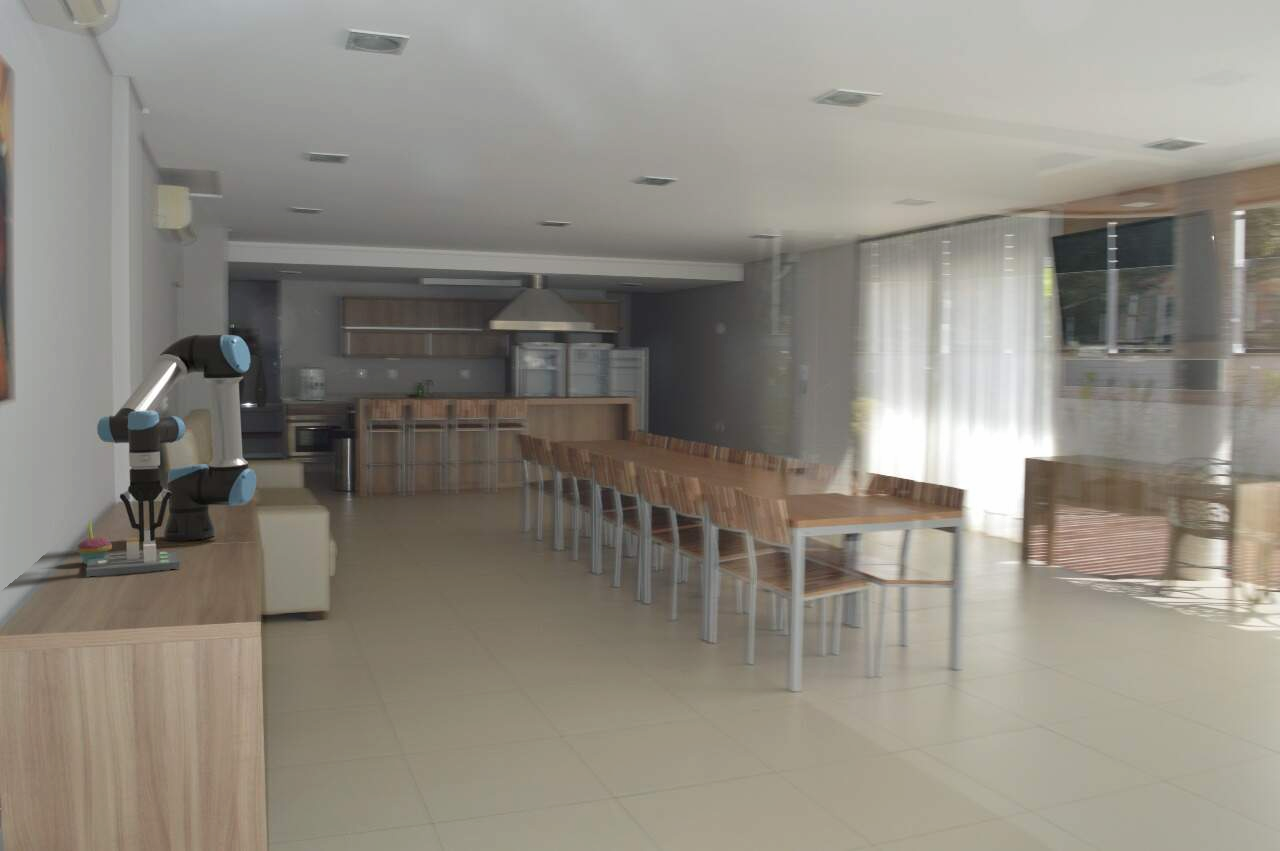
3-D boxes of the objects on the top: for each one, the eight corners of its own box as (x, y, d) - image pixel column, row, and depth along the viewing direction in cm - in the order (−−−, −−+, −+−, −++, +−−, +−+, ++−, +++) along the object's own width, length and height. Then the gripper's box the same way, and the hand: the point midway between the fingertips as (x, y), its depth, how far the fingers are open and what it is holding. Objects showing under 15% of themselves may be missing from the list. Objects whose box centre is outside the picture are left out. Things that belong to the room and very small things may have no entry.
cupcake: (70, 564, 273) (69, 521, 272) (99, 559, 280) (98, 517, 279) (90, 567, 269) (88, 524, 268) (119, 562, 276) (117, 519, 275)
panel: (89, 565, 271) (88, 540, 271) (176, 558, 281) (176, 534, 281) (86, 578, 255) (85, 551, 255) (179, 569, 265) (178, 544, 265)
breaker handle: (127, 558, 269) (126, 538, 269) (139, 557, 270) (138, 537, 270) (127, 560, 266) (126, 540, 266) (139, 559, 268) (138, 539, 267)
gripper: (117, 469, 262) (120, 557, 263) (171, 467, 268) (174, 553, 269) (118, 467, 269) (120, 552, 270) (170, 465, 275) (173, 548, 276)
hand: (147, 552), depth 270 cm, fingers closed
